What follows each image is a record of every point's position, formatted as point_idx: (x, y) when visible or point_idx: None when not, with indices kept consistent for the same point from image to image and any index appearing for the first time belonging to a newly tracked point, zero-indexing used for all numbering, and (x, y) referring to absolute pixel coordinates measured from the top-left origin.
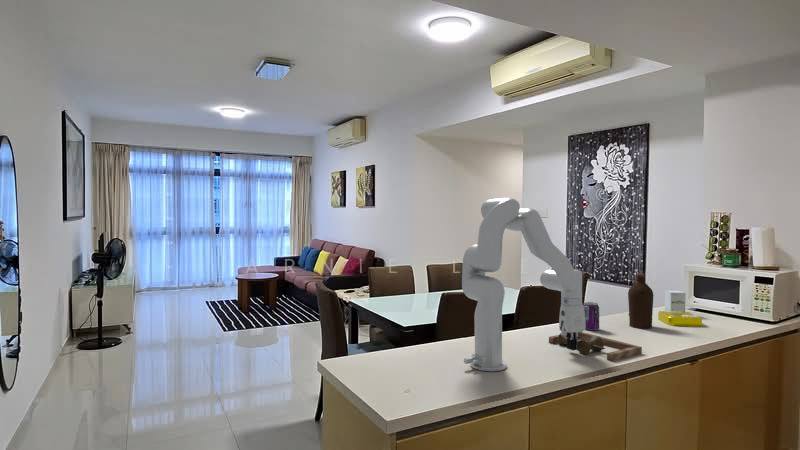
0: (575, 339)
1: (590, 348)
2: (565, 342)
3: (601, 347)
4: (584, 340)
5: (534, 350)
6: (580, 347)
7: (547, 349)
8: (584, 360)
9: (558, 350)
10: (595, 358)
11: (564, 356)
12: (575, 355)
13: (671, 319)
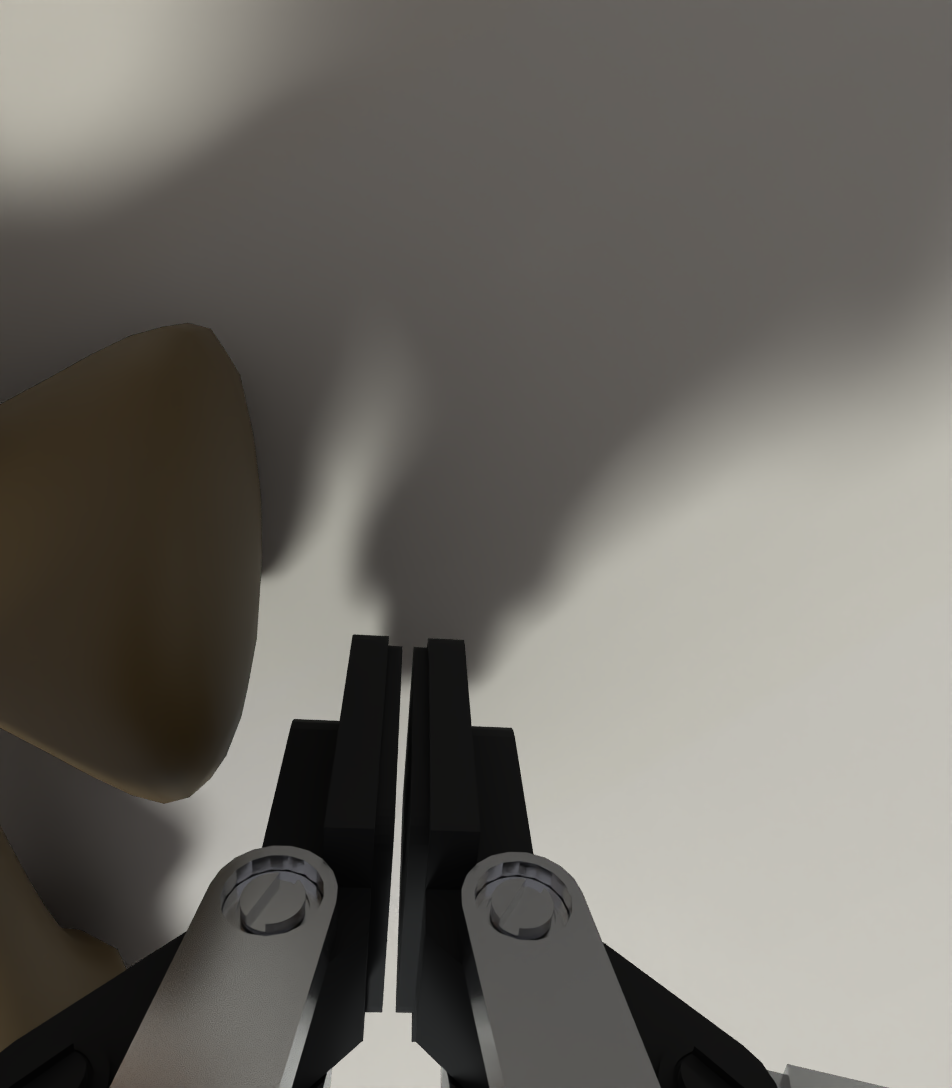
0: (343, 854)
1: (18, 398)
2: None
3: None
4: (78, 650)
5: (804, 1056)
6: (252, 605)
7: None
8: (726, 117)
9: None
10: (303, 16)
11: (767, 606)
12: (508, 515)
13: None
